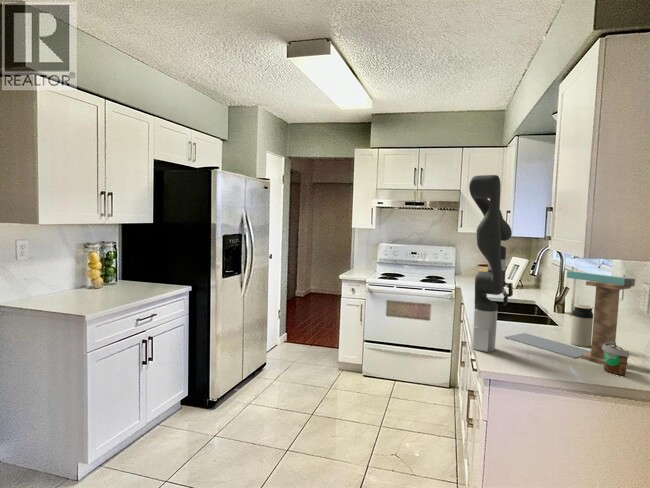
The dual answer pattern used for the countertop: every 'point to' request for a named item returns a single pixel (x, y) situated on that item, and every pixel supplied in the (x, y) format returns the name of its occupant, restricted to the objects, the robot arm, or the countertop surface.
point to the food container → (615, 359)
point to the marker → (601, 278)
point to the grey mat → (549, 345)
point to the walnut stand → (603, 318)
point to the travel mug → (582, 325)
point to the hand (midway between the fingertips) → (494, 303)
